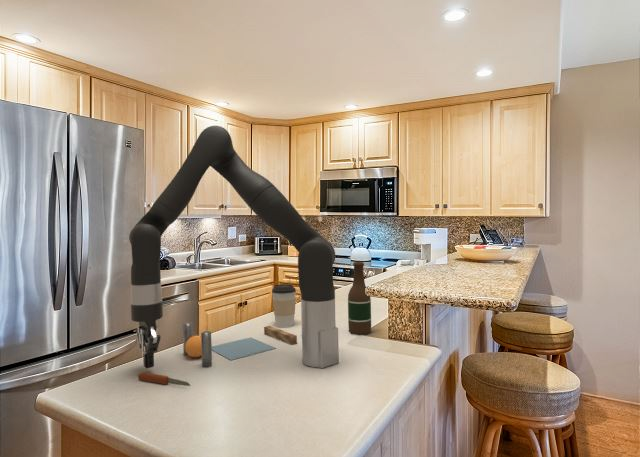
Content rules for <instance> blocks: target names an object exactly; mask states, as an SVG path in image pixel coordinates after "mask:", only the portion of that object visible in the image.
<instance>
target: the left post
mask: <svg viewBox="0 0 640 457" xmlns="http://www.w3.org/2000/svg"><path fill="white" fill-rule="evenodd" d="M191 337H193V322H192V321H191V322H190V321H188V322H187V321H186V322H183V323H182V343H183V346H182V347H183V355H184V356H189V355H188V354H187V352H186V349H185V345H186V342H187V341H188V339H189V338H191Z"/></svg>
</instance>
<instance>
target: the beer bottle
mask: <svg viewBox="0 0 640 457" xmlns="http://www.w3.org/2000/svg"><path fill="white" fill-rule="evenodd" d="M352 266H353V279H352V280H353V281H352V286H351V287H350V289H349V291H348V295H347V310H348V311H347V313H348V315H347V319H348V321H347V322H348V332H349V333H350V334H351V335H355V336H367V335H368V334H371V333H372V303H371V302H372V300H371V295H370V296H367V295H366V294H365V288H366V287H367V286H366V280H365V272H364V266H365V263H364V262H363V261H354V262H353V263H352Z"/></svg>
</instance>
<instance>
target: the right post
mask: <svg viewBox="0 0 640 457" xmlns="http://www.w3.org/2000/svg"><path fill="white" fill-rule="evenodd" d="M200 336H201V348H202V356H201V367H202V368H210V367H212V366H213V351H212V331H210V330H204V331H202V332H201V333H200Z"/></svg>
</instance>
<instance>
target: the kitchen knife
mask: <svg viewBox="0 0 640 457" xmlns="http://www.w3.org/2000/svg"><path fill="white" fill-rule="evenodd" d="M137 378H138V380H139V381H141V382H144V383H145V382H146V383H155V384H162V385H164V386H167V385H170V384H171V385H178V386H185V387H191V384H190V383H189V382H188V381H187V380H186V381H184V380H181V379H176V378H172V377H169V376H168V375H162V374H157V373H151V372H144V371H143V372H140V373H138V377H137Z"/></svg>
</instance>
